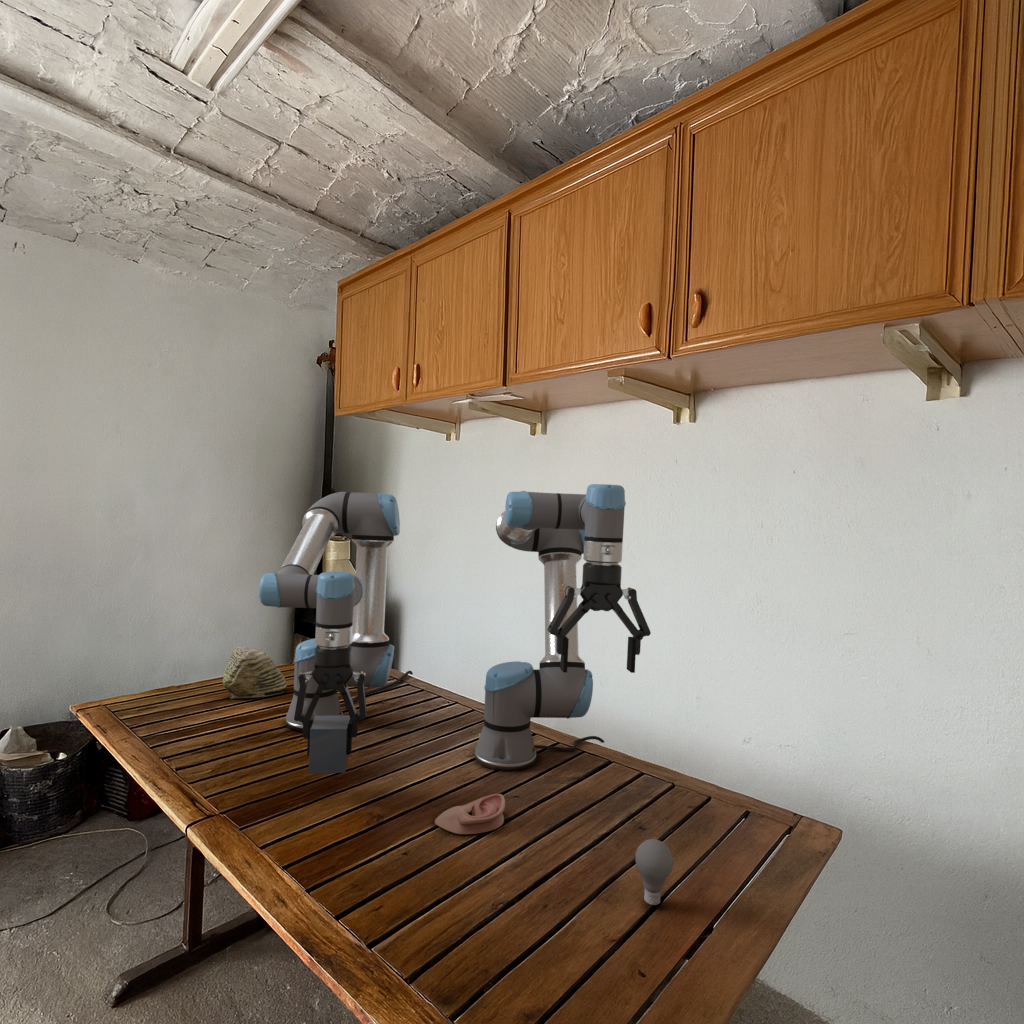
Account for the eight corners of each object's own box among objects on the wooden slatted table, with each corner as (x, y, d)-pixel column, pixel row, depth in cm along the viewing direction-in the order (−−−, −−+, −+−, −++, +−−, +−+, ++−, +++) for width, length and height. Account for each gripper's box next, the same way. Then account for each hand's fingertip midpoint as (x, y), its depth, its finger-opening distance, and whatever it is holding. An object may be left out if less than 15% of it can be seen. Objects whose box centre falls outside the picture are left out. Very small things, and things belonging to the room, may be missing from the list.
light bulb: (629, 891, 105) (631, 831, 105) (664, 890, 106) (667, 831, 106) (639, 914, 99) (642, 851, 99) (676, 914, 100) (679, 851, 100)
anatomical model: (430, 809, 122) (447, 784, 133) (429, 830, 122) (447, 802, 133) (497, 819, 119) (509, 792, 130) (496, 840, 119) (508, 811, 131)
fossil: (218, 695, 195) (220, 647, 195) (278, 685, 208) (279, 640, 207) (228, 703, 189) (230, 653, 188) (289, 692, 201) (290, 645, 201)
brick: (308, 773, 130) (310, 729, 130) (314, 757, 138) (315, 715, 137) (345, 772, 131) (346, 728, 131) (348, 757, 139) (350, 715, 139)
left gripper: (280, 649, 129) (276, 760, 129) (381, 650, 132) (377, 758, 132) (287, 640, 136) (283, 746, 137) (383, 641, 139) (379, 744, 140)
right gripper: (543, 563, 119) (538, 675, 119) (670, 566, 122) (665, 676, 123) (536, 559, 126) (531, 665, 126) (656, 562, 130) (651, 665, 130)
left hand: (329, 752), depth 135 cm, fingers closed on brick, 7 cm apart
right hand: (597, 670), depth 124 cm, fingers open, 13 cm apart
